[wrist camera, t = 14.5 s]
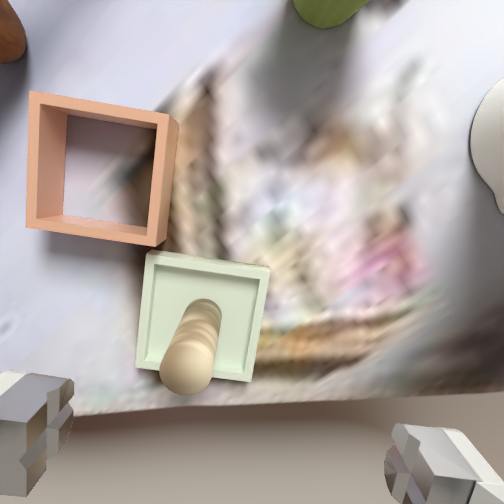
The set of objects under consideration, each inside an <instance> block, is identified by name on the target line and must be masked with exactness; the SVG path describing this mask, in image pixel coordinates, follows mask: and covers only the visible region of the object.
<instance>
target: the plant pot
mask: <svg viewBox="0 0 504 504" xmlns="http://www.w3.org/2000/svg"><path fill="white" fill-rule="evenodd" d="M368 1H369V0H293V3H294V6H295V8H296V10H297V12H298V13H299V15H300V16H301V17H302V19H303V20H304V21H306V22H307V23H309V24H310V25H312V26H315V27H318V28H330V27H335V26H338V25H340V24H342V23H343V22H345V21H346V20H347V19H348V18H350V17H351V16H352V15H353V14H354V13H355V12H357V11H358V10H359V9H360V8H361V7H362V6H363V5H365V4H366V3H367V2H368Z"/></svg>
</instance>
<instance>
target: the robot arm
mask: <svg viewBox="0 0 504 504" xmlns="http://www.w3.org/2000/svg"><path fill="white" fill-rule="evenodd" d="M471 153H472V158H473V161H474V164H475V167H476V169H477V171H478V173H479V174H480V176H481V177H482V179H483V180H484V181H485V182H486V183H487V184H488V185H489V187H490V188H491V189H492V190H493V192H494V194H495V198H496V202H497V205H498V208H499V210H500V211H501V213H502V214H504V78H502V79H501V80H500V81H499V82H498V83H497V84H496V85H494V86H493V88H492V89H491V90H490V91H489V92H488V94H487V95H486V96H485V98H484V99H483V101H482V102H481V104H480V106H479V108H478V110H477V113H476V115H475V118H474V121H473V125H472V130H471ZM73 395H74V382H73V381H72V380H71V379H67V378H61V377H55V376H48V375H42V374H35V373H28V372H21V371H14V370H10V371H5V372H3V373H2V374H1V375H0V495H9V496H20V497H27V496H28V494H29V492H30V491H31V490H32V489H33V487H34V486H35V484H36V483H37V482H38V480H39V479H40V478H41V476H42V475H43V473H44V472H45V471H46V460H47V459H49V458H50V457H52V456H54V455H56V454H57V453H58V452H59V451H60V450H61V448H62V446H63V445H64V444H65V442H66V440H67V437H68V435H69V432H70V430H71V426H72V422H73V411H74V410H73V409H72V407H71V406H70V405H69V403H68V401H69V400H70V399H71V398H72V397H73ZM391 437H392V439H393V441H394V443H395V445H394V446H392V447H391V448H390V449H389V450H388V451H387V453H386V458H385V462H384V470H385V479H386V483H387V486H388V489H389V491H390V493H391V496H393V497H394V498H395V499H396V500H397V501H398V502H399V503H400V504H504V482H503V481H502V479H501V478H500V477H499V476H498V475H497V473H496V472H495V471H494V470H493V468H492V467H491V466H490V465H489V464H488V462H487V461H486V460H485V459H484V458H483V456H481V454H480V453H479V452H478V451H477V449H476V448H475V447H474V446H473V445H472V443H471V442H470V441H469V440H468V438H467V437H466V436H465V435H464V434H463V433H462V432H461V431H459V430H457V429H453V428H443V427H427V426H420V425H412V424H404V423H397V424H396V425H395V426H394V428H393V431H392V435H391Z"/></svg>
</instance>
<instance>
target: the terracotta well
mask: <svg viewBox="0 0 504 504" xmlns="http://www.w3.org/2000/svg"><path fill="white" fill-rule="evenodd" d="M67 114H68V115H74V116H80V117H86V118H92V119H97V120H103V121H109V122H115V123H121V124H127V125H133V126H138V127H144V128H150V129H156V130H157V135H156V146H155V156H154V166H153V176H152V186H151V196H150V206H149V216H148V226H147V227H140V226H134V225H127V224H120V223H114V222H107V221H101V220H94V219H88V218H81V217H75V216H68V215H63V196H64V175H65V155H66V134H67ZM178 129H179V123H178V122H177V121H176V120H174V119H173V118H172V117H171V116H170V115H169V114H163V113H158V112H152V111H146V110H140V109H135V108H129V107H123V106H117V105H112V104H106V103H100V102H94V101H89V100H83V99H77V98H71V97H66V96H60V95H54V94H48V93H43V92H37V91H31V90H29V120H28V158H27V196H26V228H33V229H39V230H46V231H53V232H59V233H66V234H73V235H80V236H86V237H93V238H100V239H106V240H113V241H120V242H126V243H133V244H140V245H146V246H153V247H156V246H157V245H159V244H160V243H161V242H163V241H164V240H166V237H167V228H168V219H169V210H170V201H171V192H172V183H173V174H174V165H175V156H176V147H177V138H178Z"/></svg>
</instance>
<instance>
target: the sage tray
mask: <svg viewBox="0 0 504 504" xmlns="http://www.w3.org/2000/svg"><path fill="white" fill-rule="evenodd" d="M269 277H270V270H269V267H267V266H260V265H253V264H247V263H240V262H233V261H227V260H220V259H213V258H206V257H200V256H193V255H186V254H180V253H173V252H166V251H159V250H153V249H152V250H151V251H149V252H148V253H147V254H146V261H145V271H144V281H143V291H142V301H141V311H140V321H139V331H138V341H137V351H136V361H135V367H136V368H144V369H152V370H159V368H160V364H161V361H162V359H163V357H164V355H165V353H166V350H167V348H168V346H169V344H170V342H171V340H172V338H173V335H174V333H175V331H176V329H177V327H178V325H179V323H180V320H181V318H182V316H183V314H184V312H185V310H186V308H187V306H188V305H189V304H190V303H191V302H192V301H194V300H197V299H202V298H204V299H209V300H211V301H213V302H215V303H216V304H217V305H218V306H219V308H220V310H221V313H222V320H221V326H220V331H219V337H218V343H217V349H216V355H215V361H214V367H213V372H212V377H214V378H222V379H230V380H238V381H246V382H251V378H252V373H253V367H254V361H255V356H256V350H257V344H258V339H259V333H260V327H261V322H262V316H263V310H264V305H265V299H266V293H267V288H268V282H269Z"/></svg>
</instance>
